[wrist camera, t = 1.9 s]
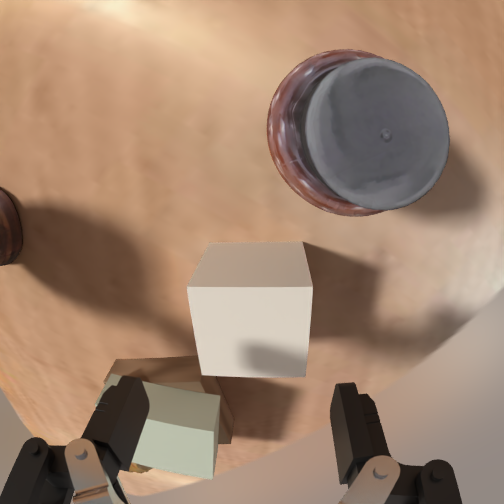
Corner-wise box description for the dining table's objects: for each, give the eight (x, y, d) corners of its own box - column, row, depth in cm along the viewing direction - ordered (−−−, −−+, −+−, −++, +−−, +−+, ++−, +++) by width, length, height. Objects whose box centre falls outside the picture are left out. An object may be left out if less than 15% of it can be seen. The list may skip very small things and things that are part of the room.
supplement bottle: (384, 147, 17) (504, 183, 7) (305, 197, 19) (346, 291, 8) (331, 65, 15) (406, -6, 5) (248, 117, 17) (212, 101, 7)
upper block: (220, 395, 22) (213, 431, 18) (217, 450, 25) (212, 479, 22) (111, 373, 22) (94, 403, 19) (129, 431, 25) (119, 458, 22)
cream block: (302, 241, 20) (312, 286, 14) (299, 318, 22) (305, 377, 17) (209, 242, 20) (186, 286, 15) (217, 318, 23) (201, 375, 17)
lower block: (207, 351, 24) (199, 381, 21) (234, 416, 28) (230, 443, 24) (117, 356, 26) (103, 381, 22) (154, 416, 29) (146, 441, 26)
